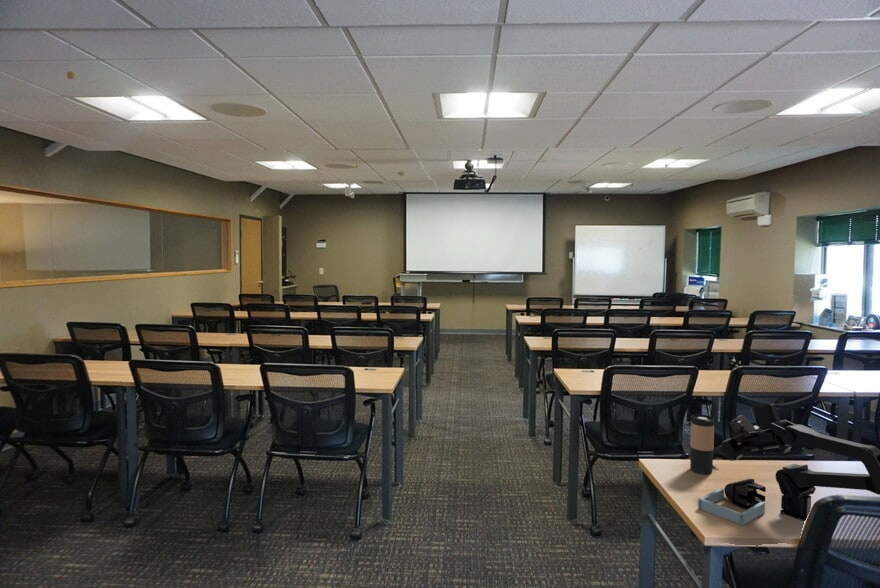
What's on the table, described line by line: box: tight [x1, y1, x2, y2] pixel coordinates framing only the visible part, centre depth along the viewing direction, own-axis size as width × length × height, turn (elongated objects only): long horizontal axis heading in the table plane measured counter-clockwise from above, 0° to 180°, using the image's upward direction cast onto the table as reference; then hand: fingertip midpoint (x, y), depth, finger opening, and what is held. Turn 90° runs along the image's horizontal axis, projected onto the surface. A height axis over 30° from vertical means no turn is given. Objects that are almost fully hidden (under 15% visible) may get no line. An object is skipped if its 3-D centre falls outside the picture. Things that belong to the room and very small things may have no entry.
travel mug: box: [689, 413, 715, 475], centre depth 185 cm, size 8×8×20 cm
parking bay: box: [697, 487, 766, 526], centre depth 154 cm, size 13×14×3 cm
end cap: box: [723, 478, 767, 511], centre depth 159 cm, size 10×7×7 cm
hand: (721, 445), depth 173 cm, fingers open, 9 cm apart
